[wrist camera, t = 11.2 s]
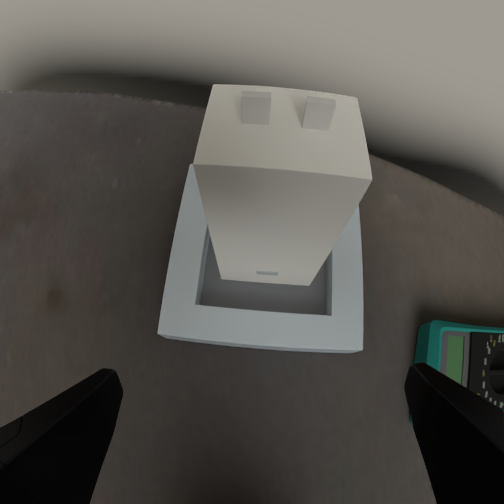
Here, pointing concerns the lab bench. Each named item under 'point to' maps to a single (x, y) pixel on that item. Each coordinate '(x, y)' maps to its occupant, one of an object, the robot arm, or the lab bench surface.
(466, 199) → the lab bench surface
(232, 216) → the adapter
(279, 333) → the outlet plate
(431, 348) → the digital multimeter
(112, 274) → the lab bench surface
